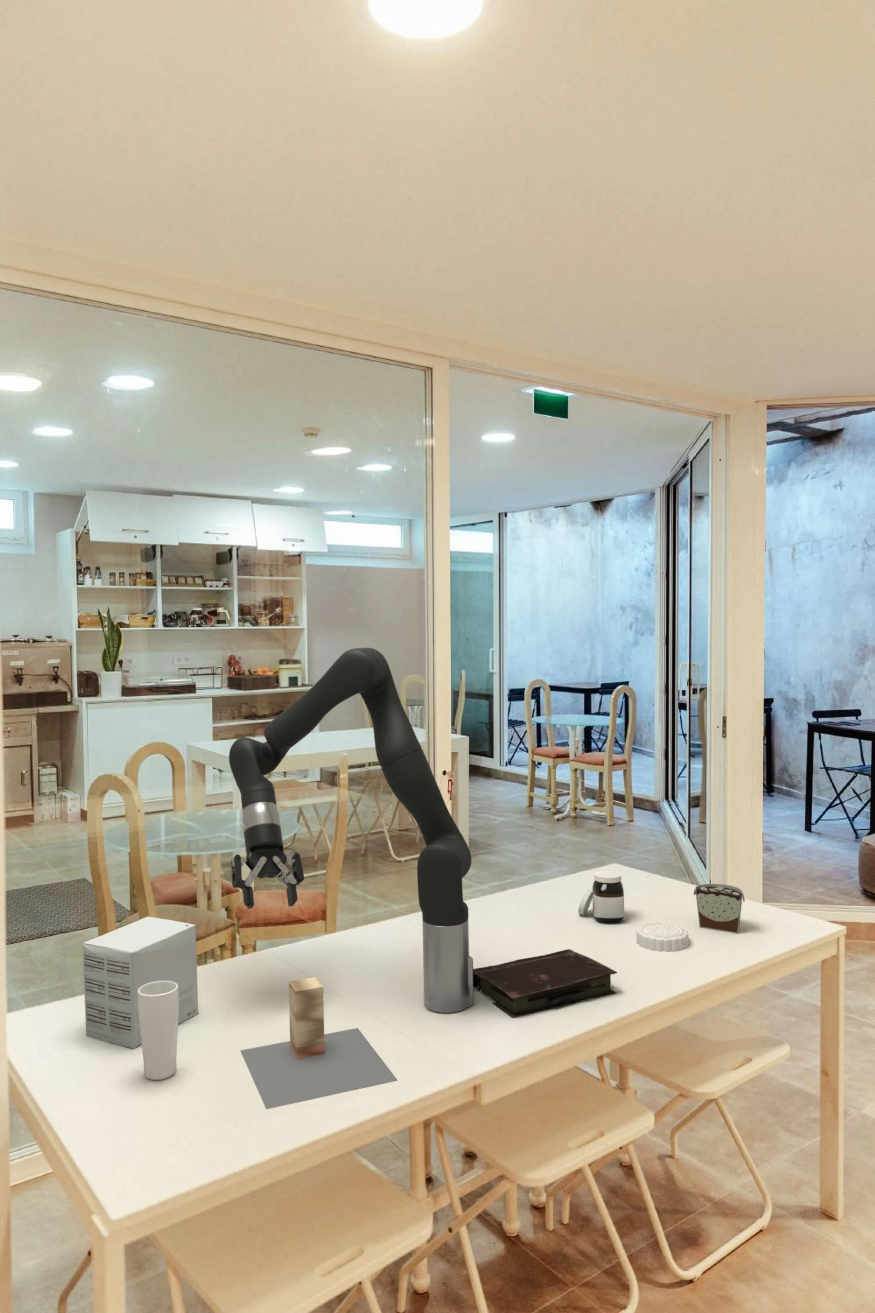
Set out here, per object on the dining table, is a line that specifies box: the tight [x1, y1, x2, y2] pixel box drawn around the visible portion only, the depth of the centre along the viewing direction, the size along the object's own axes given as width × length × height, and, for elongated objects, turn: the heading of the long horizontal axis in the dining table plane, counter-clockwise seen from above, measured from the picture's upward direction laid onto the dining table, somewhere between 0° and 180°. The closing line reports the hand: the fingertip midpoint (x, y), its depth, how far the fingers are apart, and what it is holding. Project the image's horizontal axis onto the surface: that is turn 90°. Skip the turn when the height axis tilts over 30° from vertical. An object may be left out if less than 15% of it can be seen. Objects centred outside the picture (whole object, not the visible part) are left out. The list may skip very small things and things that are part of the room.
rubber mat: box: [240, 1027, 398, 1110], centre depth 160 cm, size 22×22×1 cm
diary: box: [473, 948, 618, 1018], centre depth 192 cm, size 19×25×5 cm
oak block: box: [288, 976, 325, 1059], centre depth 166 cm, size 5×5×12 cm
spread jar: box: [577, 870, 625, 924], centre depth 238 cm, size 12×11×12 cm
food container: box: [693, 883, 746, 934], centre depth 229 cm, size 12×6×10 cm, turn 58°
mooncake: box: [635, 922, 689, 953], centre depth 219 cm, size 12×12×4 cm
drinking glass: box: [138, 981, 179, 1081], centre depth 159 cm, size 7×7×15 cm
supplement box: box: [82, 916, 199, 1050], centre depth 179 cm, size 17×13×18 cm
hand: (271, 906), depth 182 cm, fingers open, 8 cm apart
